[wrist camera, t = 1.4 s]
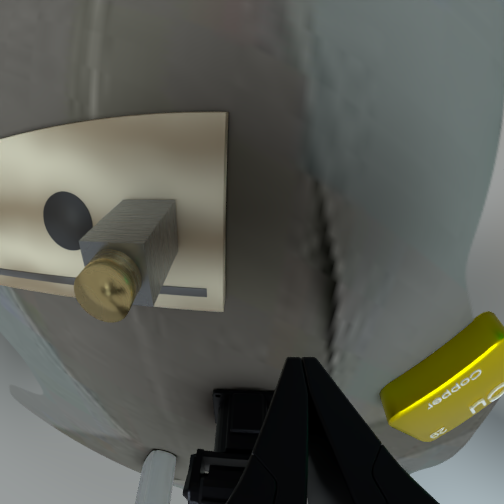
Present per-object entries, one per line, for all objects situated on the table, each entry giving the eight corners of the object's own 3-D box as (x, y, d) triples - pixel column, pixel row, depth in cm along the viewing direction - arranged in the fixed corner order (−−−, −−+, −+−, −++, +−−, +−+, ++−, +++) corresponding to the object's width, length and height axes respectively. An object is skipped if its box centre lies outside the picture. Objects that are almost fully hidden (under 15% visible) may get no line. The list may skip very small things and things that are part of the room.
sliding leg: (178, 250, 17) (143, 332, 11) (129, 248, 16) (79, 322, 11) (175, 199, 15) (128, 266, 9) (123, 199, 15) (59, 260, 9)
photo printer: (165, 469, 39) (156, 529, 28) (141, 462, 38) (129, 522, 28) (180, 454, 35) (170, 527, 24) (152, 446, 34) (137, 519, 23)
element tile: (489, 302, 21) (514, 334, 17) (505, 357, 26) (521, 382, 22) (371, 389, 27) (382, 427, 22) (418, 420, 32) (427, 447, 27)
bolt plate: (225, 297, 20) (212, 397, 13) (-23, 270, 20) (-69, 318, 13) (228, 111, 15) (201, 121, 7) (-51, 155, 14) (-113, 188, 7)
